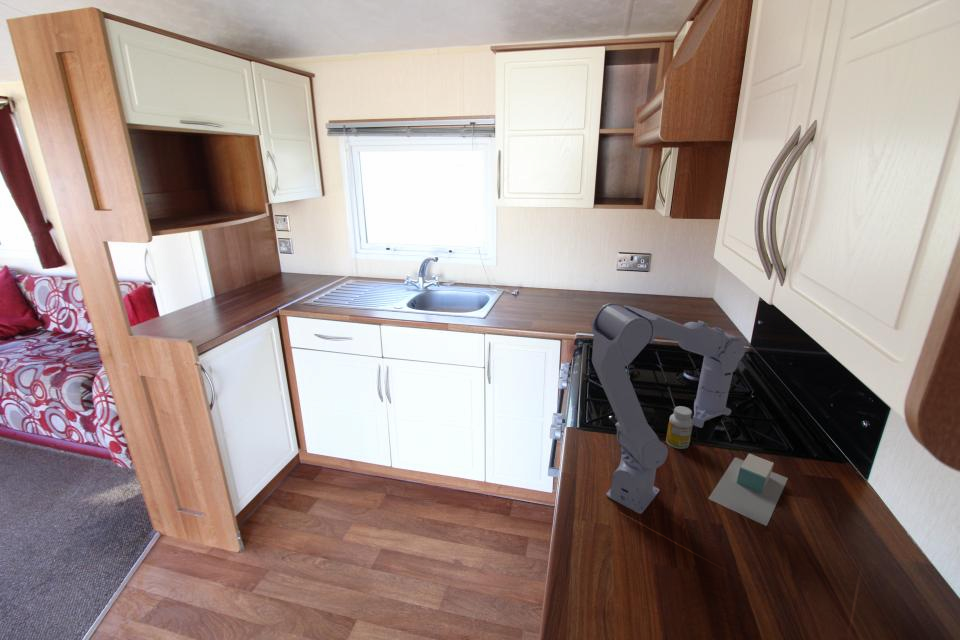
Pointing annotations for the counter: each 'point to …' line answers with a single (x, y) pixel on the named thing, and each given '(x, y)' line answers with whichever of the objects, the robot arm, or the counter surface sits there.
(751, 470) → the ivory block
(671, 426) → the supplement bottle
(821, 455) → the counter surface
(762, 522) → the grey mat
